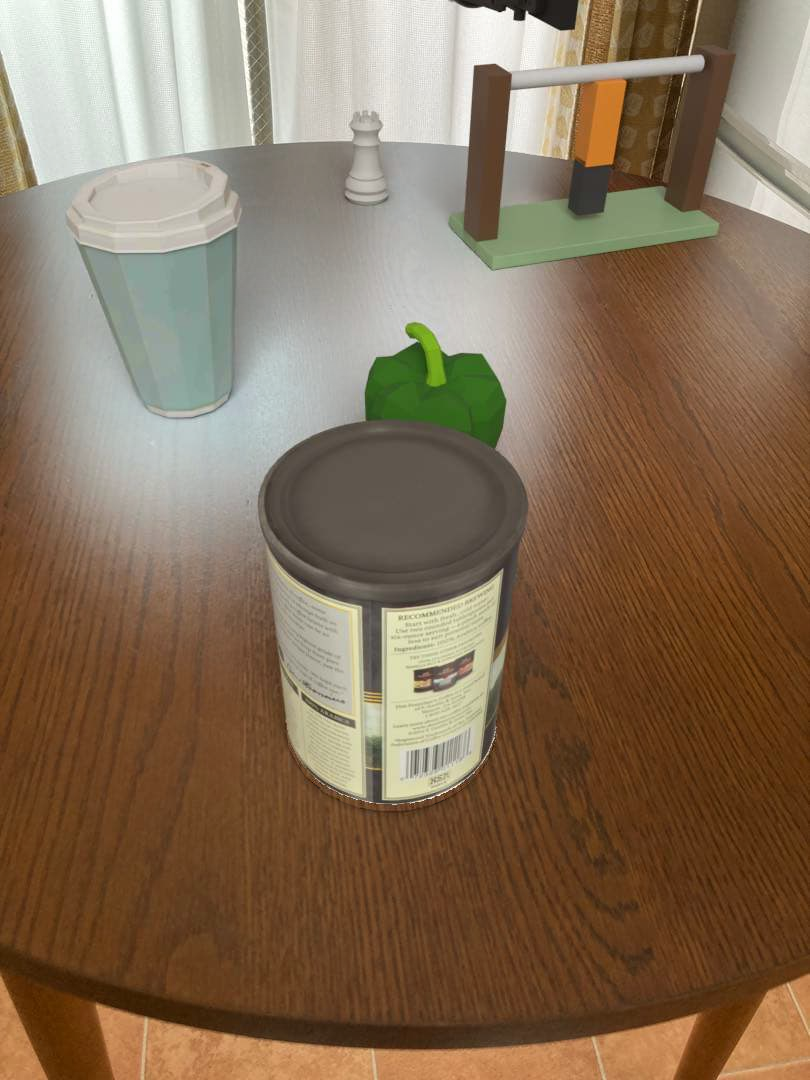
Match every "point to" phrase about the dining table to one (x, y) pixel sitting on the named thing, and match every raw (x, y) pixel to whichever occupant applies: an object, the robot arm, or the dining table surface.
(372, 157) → the rook chess piece
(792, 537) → the dining table surface
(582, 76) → the foosball rod
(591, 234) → the foosball stand
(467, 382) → the bell pepper
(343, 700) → the coffee can
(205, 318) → the disposable coffee cup
